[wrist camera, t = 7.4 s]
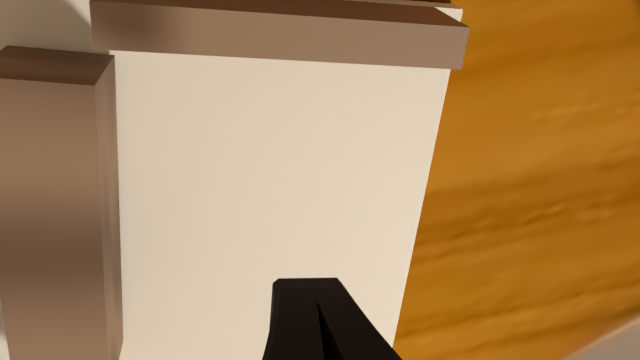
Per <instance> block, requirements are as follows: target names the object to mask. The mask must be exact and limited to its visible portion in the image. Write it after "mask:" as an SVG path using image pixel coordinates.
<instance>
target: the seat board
mask: <svg viewBox="0 0 640 360" xmlns="http://www.w3.org/2000/svg"><path fill="white" fill-rule="evenodd" d="M462 12H463V9H462V8H460V7H458V6H456V5H454V4H449V3H437V2H424V1H411V0H0V50H2V49H3V48H4V47H6V46H7V45H10V46H21V47H32V48H43V49H54V50H65V51H76V52H87V53H98V54H109V55H115V81H116V114H117V147H118V180H119V213H120V246H121V278H122V311H123V344H122V348H121V353H120V357H119V360H262V358H263V355H264V351H265V347H266V343H267V339H268V334H269V327H270V313H271V299H272V285H273V282H275V281H276V280H277V279H278V278H338V279H339V280H340V281H341V283H342V284H343V285H344V287H345V288H346V290H347V291H348V292H349V294H350V295H351V296H352V298H353V299H354V301H355V302H356V303H357V305H358V306H359V307H360V309H361V310H362V311H363V313H364V314H365V315H366V316H367V318H368V319H369V320H370V322H371V323H372V324H373V325H374V327H375V328H376V329H377V330H378V332H379V333H380V334H381V335H382V336H383V338H384V339H385V340H386V341H387V342H388V344H389V345H390V346H391V347H393V342H394V338H395V333H396V328H397V323H398V319H399V314H400V309H401V304H402V299H403V295H404V290H405V285H406V280H407V275H408V271H409V266H410V261H411V256H412V252H413V247H414V242H415V237H416V232H417V228H418V223H419V218H420V213H421V208H422V204H423V199H424V194H425V189H426V184H427V180H428V175H429V170H430V165H431V161H432V156H433V151H434V146H435V141H436V137H437V132H438V127H439V122H440V117H441V113H442V108H443V103H444V98H445V93H446V89H447V84H448V79H449V74H450V70H451V69H457V70H461V67H462V62H463V58H464V53H465V49H466V44H467V39H468V35H469V30H470V27H468V26H467V25H465V24H463V23H461V17H462ZM0 360H10V358H9V351H8V345H7V339H6V332H5V326H4V319H3V313H2V306H1V300H0Z"/></svg>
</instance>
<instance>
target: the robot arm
mask: <svg viewBox="0 0 640 360" xmlns="http://www.w3.org/2000/svg"><path fill="white" fill-rule="evenodd" d="M262 360H402V359H401V358H400V356H399V355H398V354H397V353H396V352H395V351H394V350H393V348H392V347H391V346H390V345H389V344H388V342H387V341H386V340H385V339H384V338H383V336H382V335H381V334H380V333H379V332H378V330H377V329H376V328H375V327H374V325H373V324H372V323H371V322H370V320H369V319H368V318H367V316H366V315H365V314H364V313H363V311H362V310H361V309H360V307H359V306H358V305H357V303H356V302H355V301H354V299H353V298H352V296H351V295H350V294H349V292H348V291H347V290H346V288H345V287H344V285H343V284H342V283H341V281H340V280H339V279H338V278H278V279H277V280H276V281H275V282H273V285H272V299H271V313H270V327H269V334H268V339H267V343H266V347H265V351H264V355H263V358H262Z"/></svg>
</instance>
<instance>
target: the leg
mask: <svg viewBox="0 0 640 360" xmlns="http://www.w3.org/2000/svg"><path fill="white" fill-rule="evenodd" d="M0 300H1V306H2V313H3V319H4V326H5V332H6V339H7V345H8V351H9V358H10V360H119V357H120V353H121V348H122V344H123V311H122V278H121V246H120V213H119V180H118V147H117V114H116V81H115V55H109V54H98V53H87V52H76V51H65V50H54V49H43V48H32V47H21V46H10V45H7V46H6V47H4V48H3V49H2V50H0Z"/></svg>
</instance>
